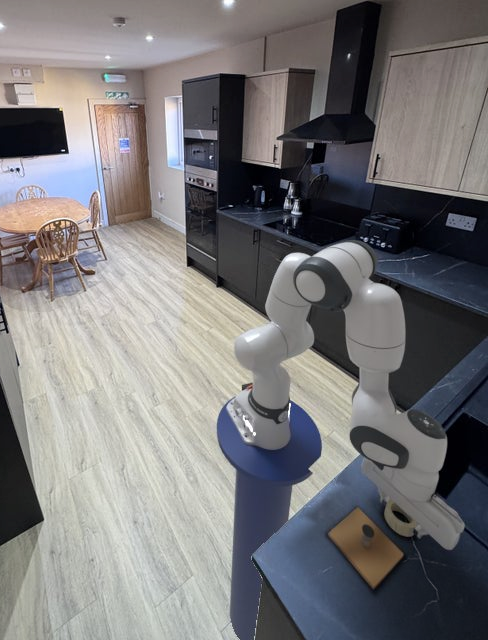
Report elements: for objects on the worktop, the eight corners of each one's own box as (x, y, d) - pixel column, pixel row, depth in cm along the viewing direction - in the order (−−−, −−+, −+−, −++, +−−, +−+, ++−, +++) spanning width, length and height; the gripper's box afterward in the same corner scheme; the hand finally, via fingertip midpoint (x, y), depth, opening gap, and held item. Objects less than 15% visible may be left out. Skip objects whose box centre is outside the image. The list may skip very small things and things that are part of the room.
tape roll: (378, 515, 79) (380, 507, 78) (393, 501, 82) (395, 493, 81) (406, 542, 74) (408, 533, 73) (421, 526, 77) (423, 518, 76)
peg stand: (327, 535, 75) (330, 520, 74) (357, 509, 80) (360, 494, 79) (373, 590, 66) (377, 574, 65) (403, 556, 71) (407, 541, 70)
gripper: (474, 512, 66) (457, 556, 70) (376, 435, 83) (368, 474, 87) (459, 530, 63) (443, 574, 67) (361, 447, 80) (353, 486, 84)
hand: (400, 517), depth 77 cm, fingers closed on tape roll, 6 cm apart
